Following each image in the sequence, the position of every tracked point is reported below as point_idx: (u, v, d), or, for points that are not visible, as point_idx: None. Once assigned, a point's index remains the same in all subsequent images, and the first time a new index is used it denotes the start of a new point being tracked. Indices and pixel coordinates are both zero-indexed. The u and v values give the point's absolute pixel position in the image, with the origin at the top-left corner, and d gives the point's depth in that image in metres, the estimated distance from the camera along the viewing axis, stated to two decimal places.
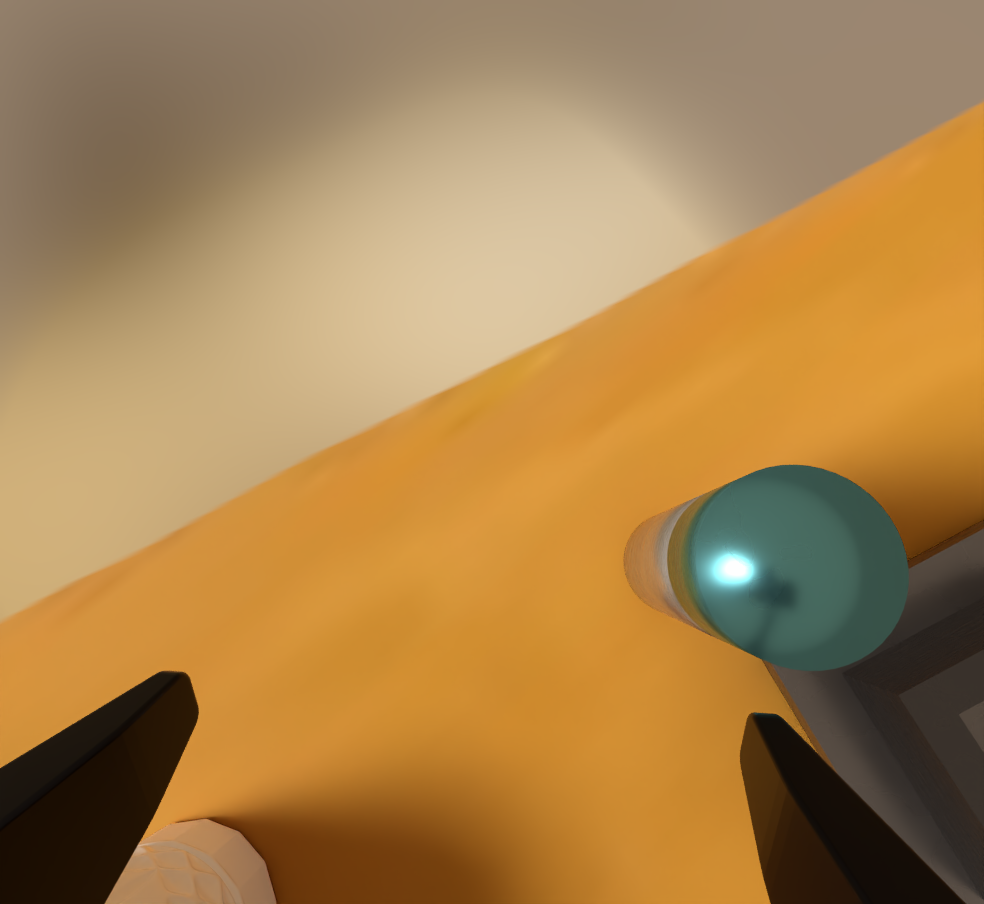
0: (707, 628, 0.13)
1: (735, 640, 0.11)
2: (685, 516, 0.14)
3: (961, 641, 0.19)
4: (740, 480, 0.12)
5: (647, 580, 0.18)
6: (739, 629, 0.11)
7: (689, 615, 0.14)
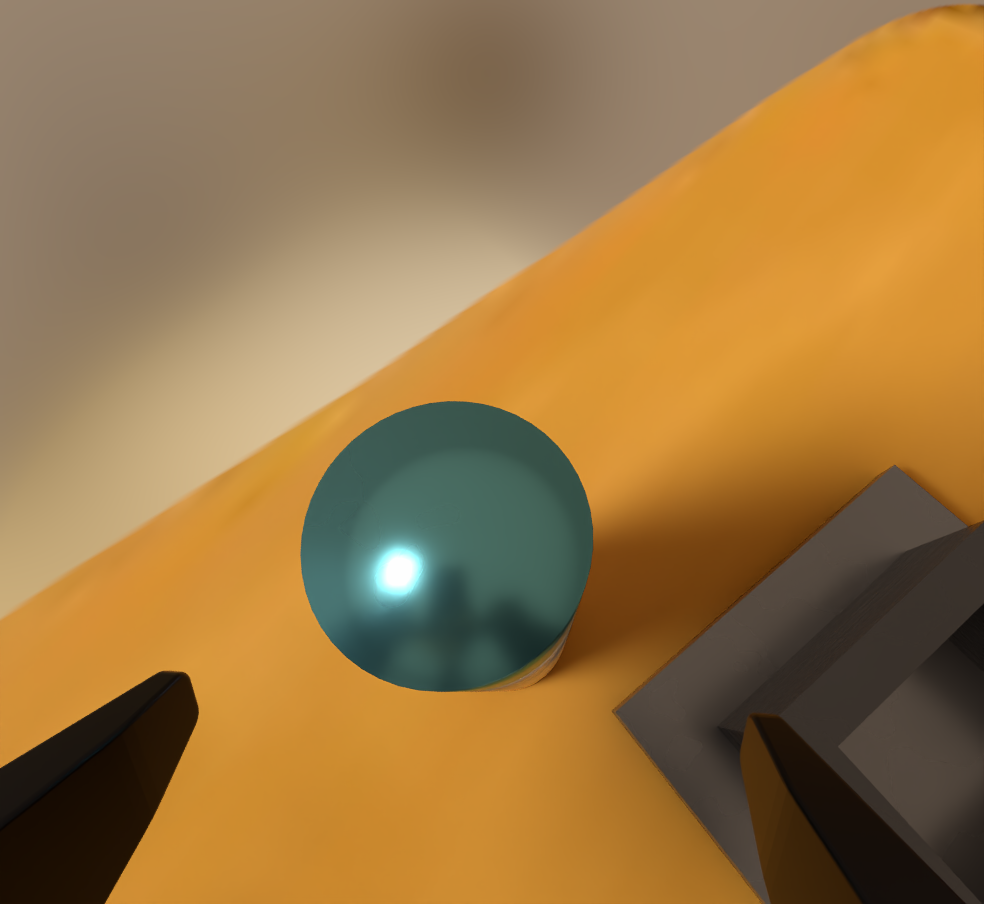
0: None
1: (355, 662, 0.07)
2: None
3: (828, 650, 0.15)
4: (362, 435, 0.09)
5: None
6: (362, 644, 0.07)
7: None
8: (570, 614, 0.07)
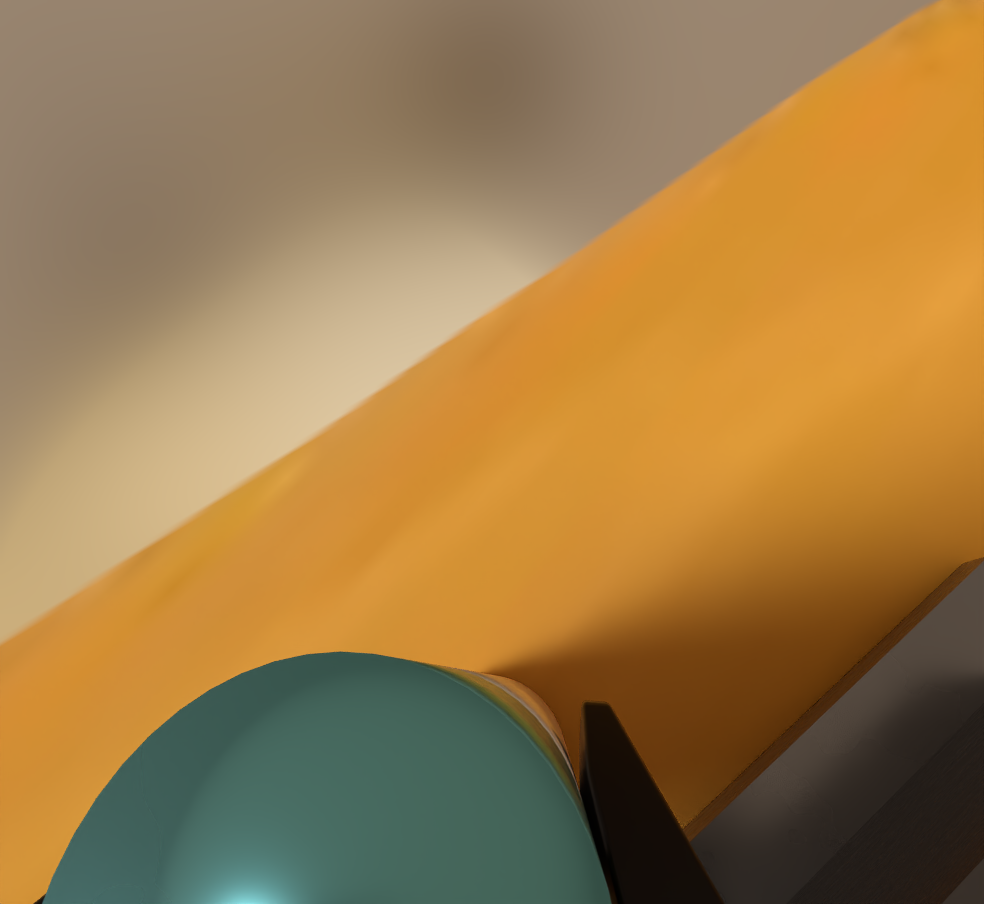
0: None
1: None
2: None
3: (931, 848, 0.11)
4: (171, 722, 0.04)
5: None
6: None
7: None
8: None
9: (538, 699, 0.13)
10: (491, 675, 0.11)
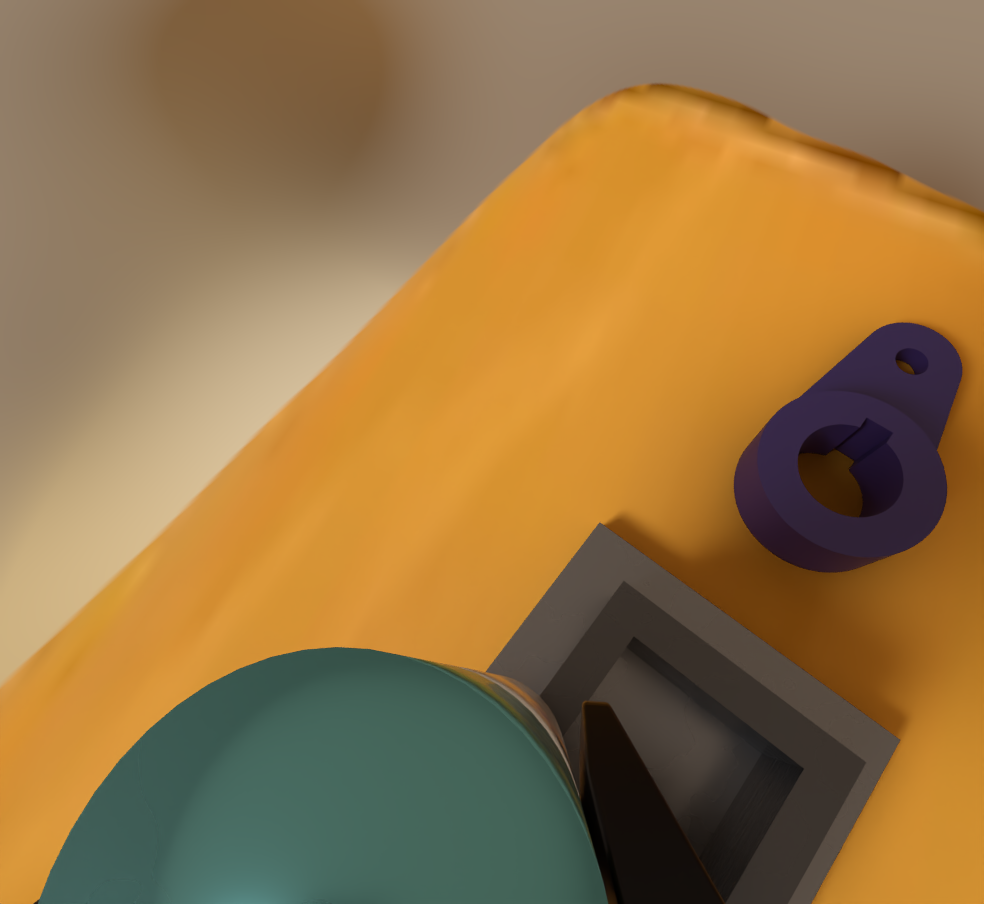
0: None
1: None
2: None
3: None
4: (169, 717, 0.04)
5: None
6: None
7: None
8: None
9: (537, 697, 0.13)
10: (489, 673, 0.11)
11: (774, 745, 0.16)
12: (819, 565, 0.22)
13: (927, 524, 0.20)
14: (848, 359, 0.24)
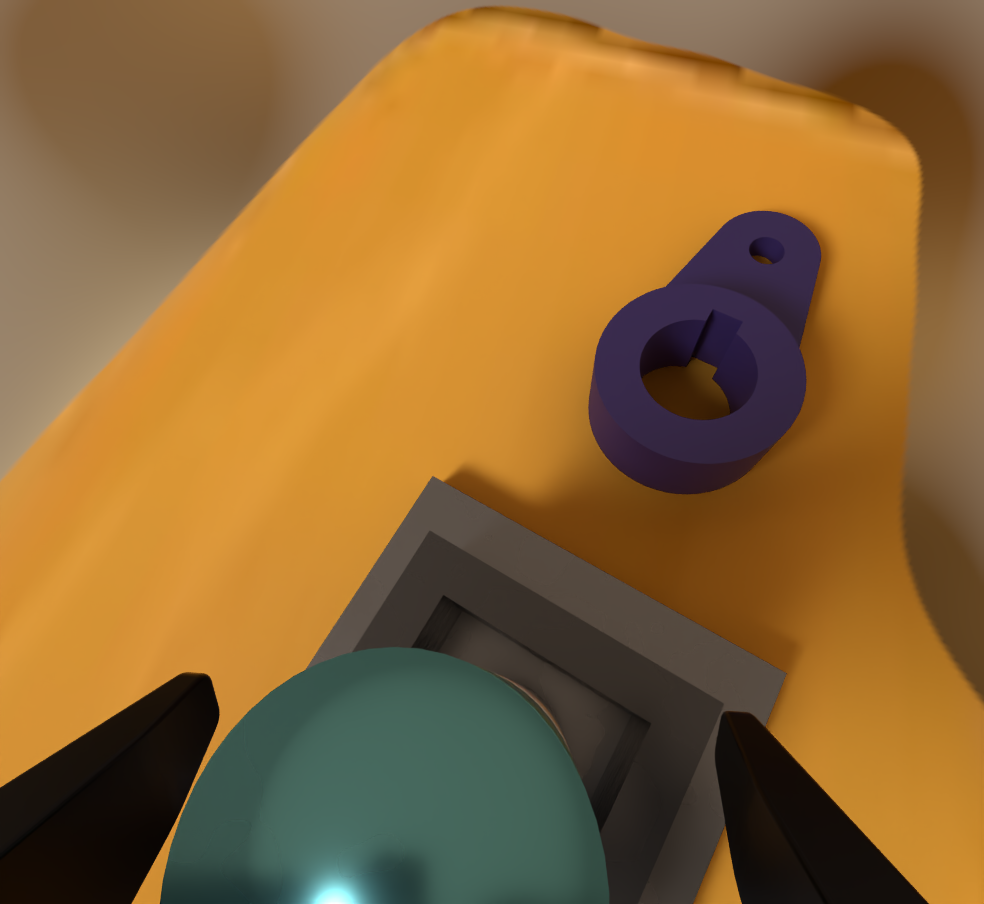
0: None
1: None
2: None
3: None
4: (265, 700, 0.06)
5: None
6: None
7: None
8: None
9: None
10: None
11: (615, 700, 0.13)
12: (683, 485, 0.19)
13: (787, 416, 0.17)
14: (699, 257, 0.22)
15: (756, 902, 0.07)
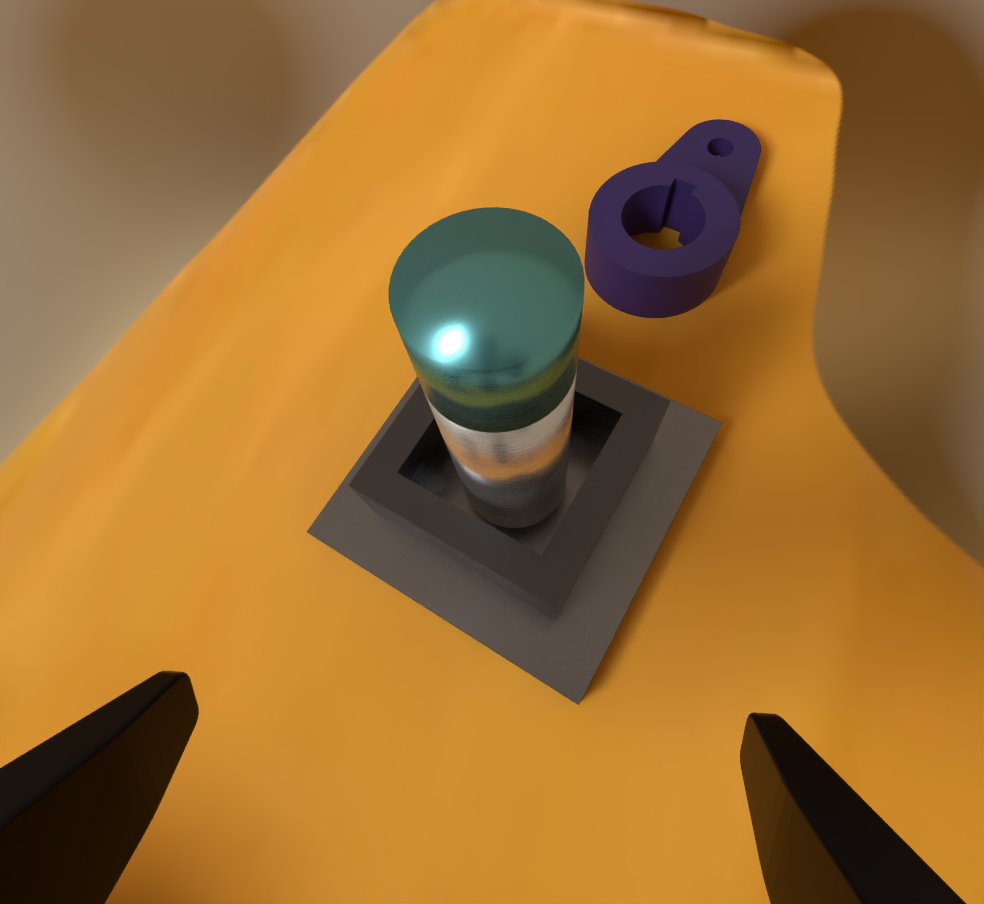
0: (443, 400, 0.13)
1: (429, 355, 0.11)
2: None
3: None
4: (426, 230, 0.12)
5: None
6: (433, 346, 0.11)
7: (440, 410, 0.14)
8: (569, 324, 0.11)
9: None
10: None
11: (599, 402, 0.20)
12: (653, 306, 0.26)
13: (725, 246, 0.24)
14: (669, 152, 0.29)
15: None
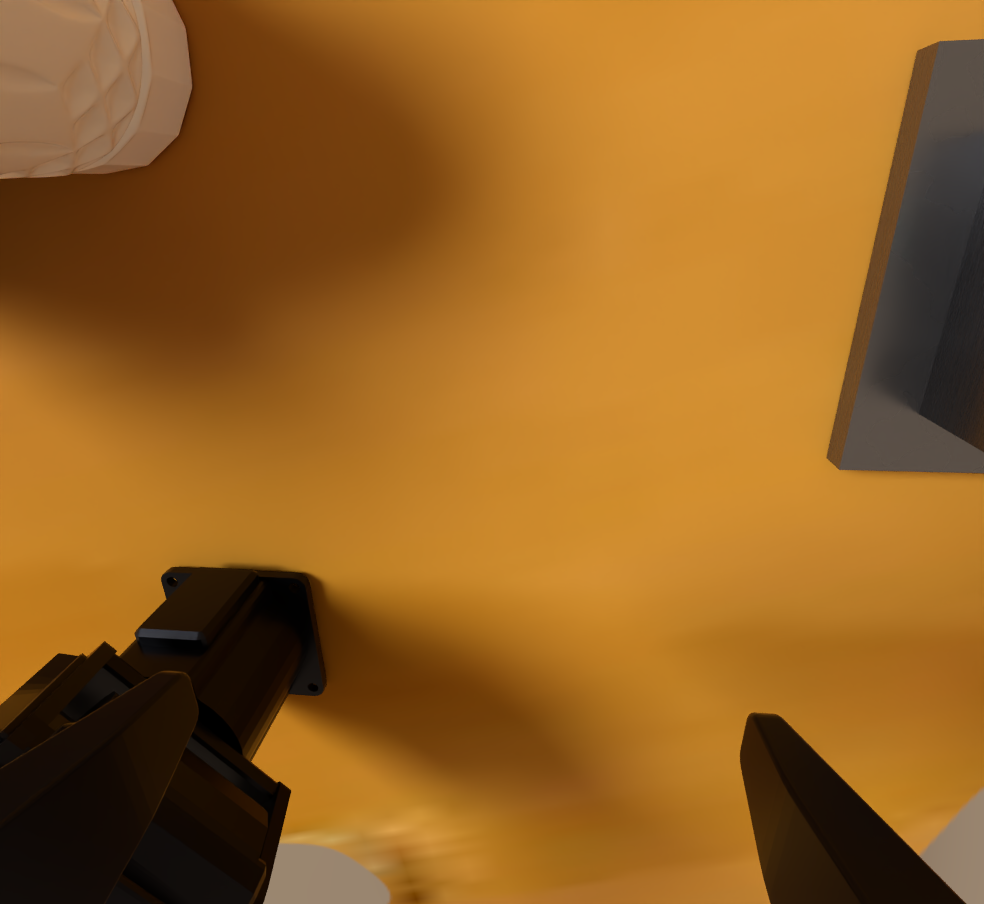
0: None
1: None
2: None
3: None
4: None
5: None
6: None
7: None
8: None
9: None
10: None
11: None
12: None
13: None
14: None
15: None
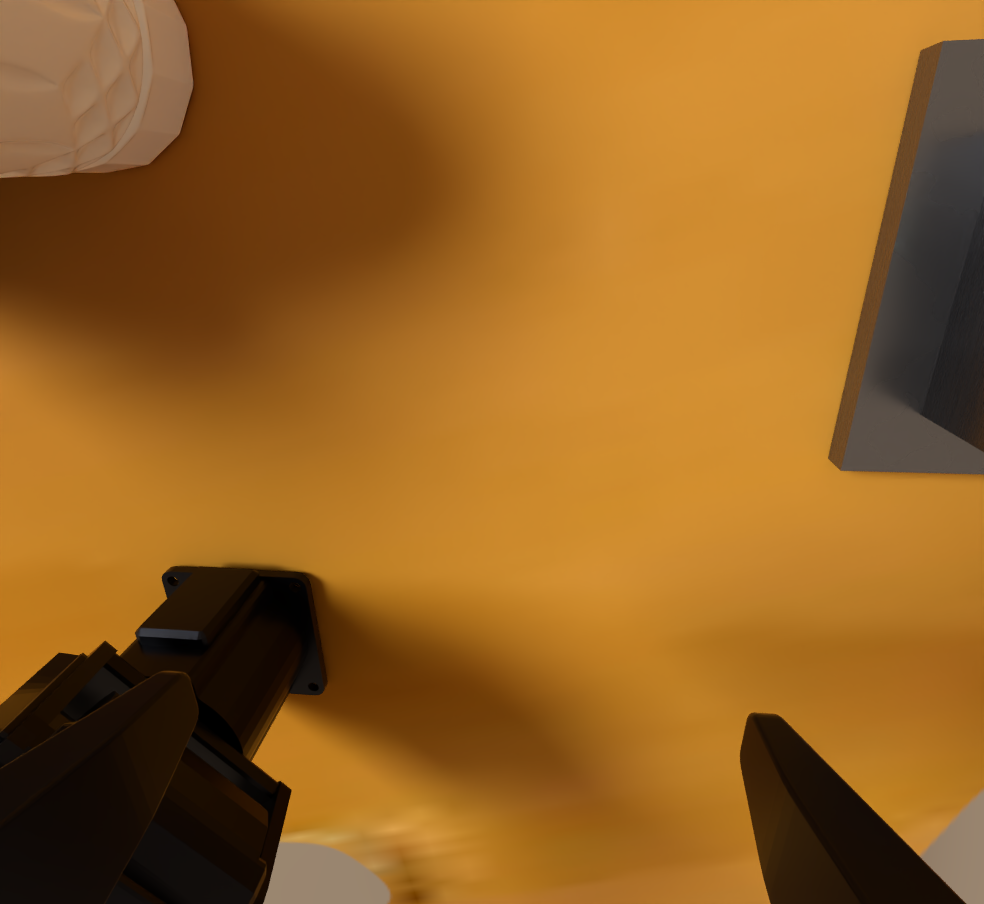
0: None
1: None
2: None
3: None
4: None
5: None
6: None
7: None
8: None
9: None
10: None
11: None
12: None
13: None
14: None
15: None
